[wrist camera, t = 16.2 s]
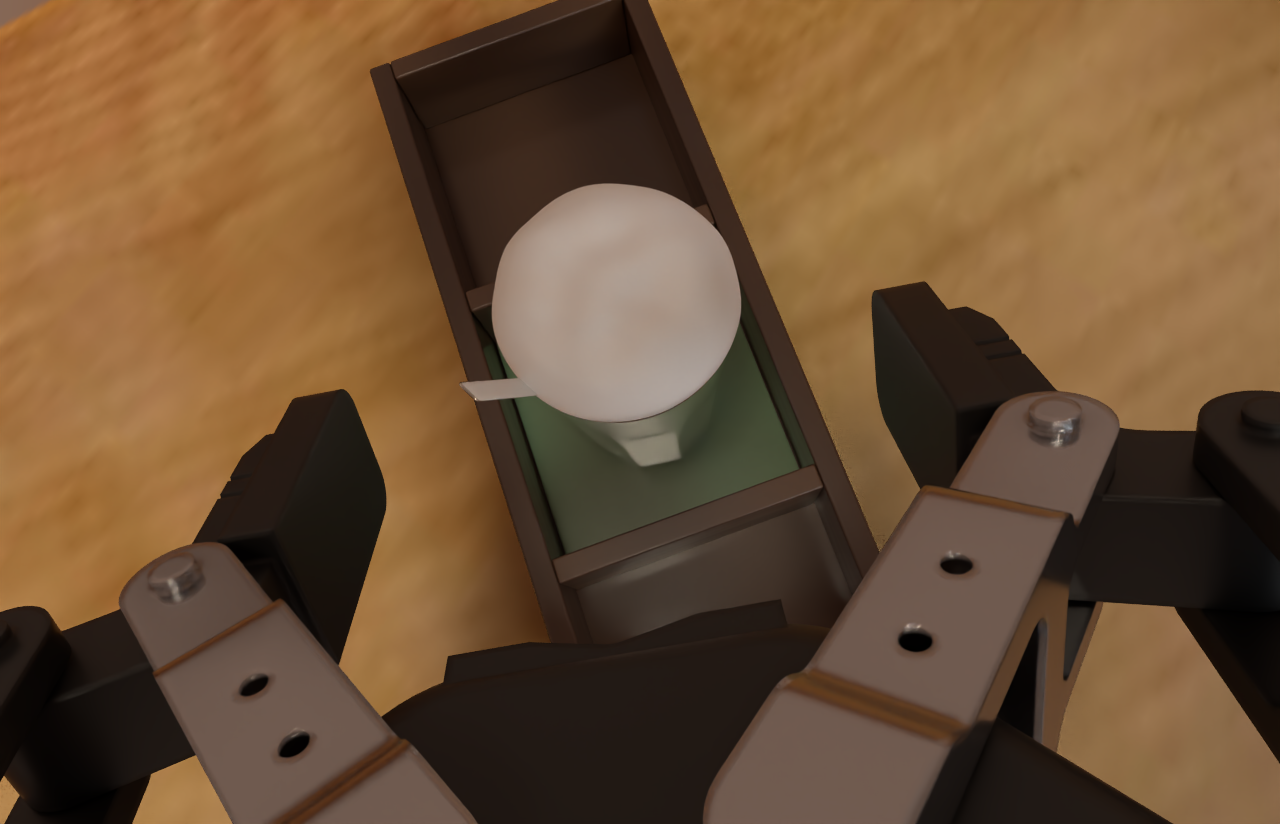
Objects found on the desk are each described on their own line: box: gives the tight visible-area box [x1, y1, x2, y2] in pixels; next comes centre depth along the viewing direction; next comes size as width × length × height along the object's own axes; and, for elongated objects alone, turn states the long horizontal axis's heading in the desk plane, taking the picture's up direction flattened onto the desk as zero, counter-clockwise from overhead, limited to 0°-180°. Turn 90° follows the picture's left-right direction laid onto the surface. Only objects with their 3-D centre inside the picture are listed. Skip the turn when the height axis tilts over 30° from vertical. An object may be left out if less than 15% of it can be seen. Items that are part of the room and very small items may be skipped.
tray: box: [370, 0, 879, 644], centre depth 24 cm, size 8×22×3 cm, turn 20°
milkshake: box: [459, 184, 741, 467], centre depth 20 cm, size 4×5×10 cm
